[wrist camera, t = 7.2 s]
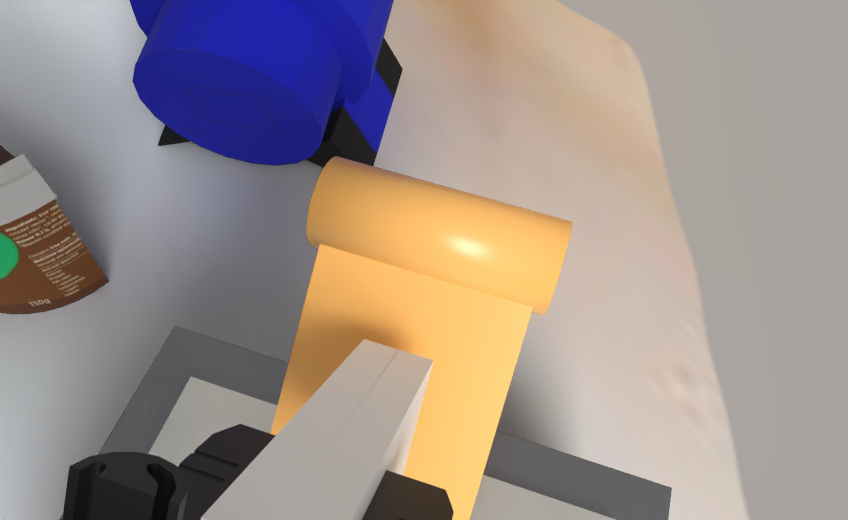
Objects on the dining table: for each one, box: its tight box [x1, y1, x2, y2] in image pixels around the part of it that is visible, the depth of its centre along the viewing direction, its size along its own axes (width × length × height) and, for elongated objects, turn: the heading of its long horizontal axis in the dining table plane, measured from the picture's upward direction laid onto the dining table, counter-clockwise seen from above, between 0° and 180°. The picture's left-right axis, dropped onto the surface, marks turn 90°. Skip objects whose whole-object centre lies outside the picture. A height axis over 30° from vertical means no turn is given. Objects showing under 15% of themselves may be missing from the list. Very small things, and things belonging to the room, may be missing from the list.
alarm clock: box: [130, 0, 403, 167], centre depth 32 cm, size 12×12×15 cm
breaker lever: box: [270, 156, 572, 520], centre depth 16 cm, size 2×6×10 cm
